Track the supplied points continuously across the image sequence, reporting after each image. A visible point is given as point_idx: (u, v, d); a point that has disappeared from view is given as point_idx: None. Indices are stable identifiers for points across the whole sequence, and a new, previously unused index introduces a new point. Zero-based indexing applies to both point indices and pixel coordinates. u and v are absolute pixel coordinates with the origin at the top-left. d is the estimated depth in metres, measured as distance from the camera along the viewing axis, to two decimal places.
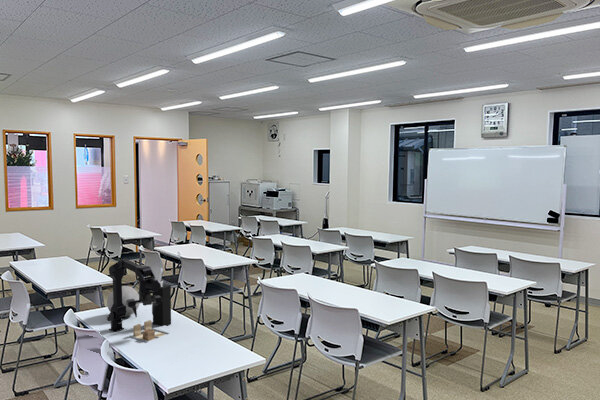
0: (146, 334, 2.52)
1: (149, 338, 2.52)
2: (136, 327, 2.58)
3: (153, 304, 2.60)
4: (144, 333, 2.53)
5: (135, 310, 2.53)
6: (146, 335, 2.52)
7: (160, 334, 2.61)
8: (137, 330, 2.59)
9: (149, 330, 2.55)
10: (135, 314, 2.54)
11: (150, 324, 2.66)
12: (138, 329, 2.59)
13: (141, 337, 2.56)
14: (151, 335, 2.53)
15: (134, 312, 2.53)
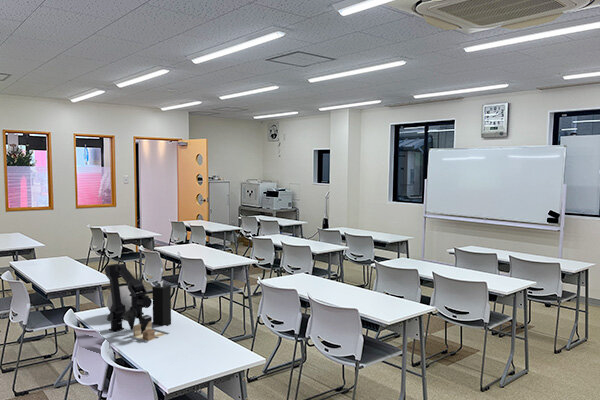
0: (146, 334, 2.52)
1: (149, 338, 2.52)
2: (136, 327, 2.58)
3: None
4: (144, 333, 2.53)
5: (129, 322, 2.61)
6: (146, 335, 2.52)
7: (160, 334, 2.61)
8: (137, 330, 2.59)
9: (149, 330, 2.55)
10: None
11: (150, 324, 2.66)
12: (138, 329, 2.59)
13: (141, 337, 2.56)
14: (151, 335, 2.53)
15: (129, 324, 2.61)
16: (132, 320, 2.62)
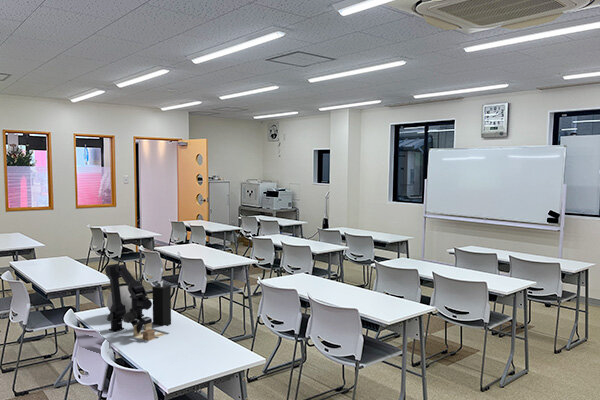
0: (146, 334, 2.52)
1: (149, 338, 2.52)
2: (136, 327, 2.58)
3: None
4: (144, 333, 2.53)
5: (133, 325, 2.59)
6: (146, 335, 2.52)
7: (160, 334, 2.61)
8: None
9: (149, 330, 2.55)
10: None
11: (150, 324, 2.66)
12: None
13: (141, 337, 2.56)
14: (151, 335, 2.53)
15: None
16: None
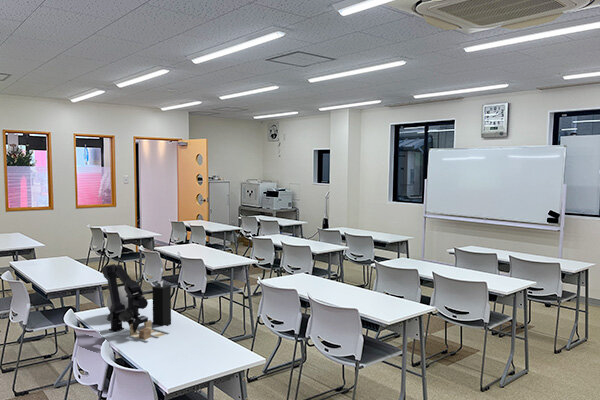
0: (142, 333, 2.53)
1: (145, 337, 2.54)
2: (132, 326, 2.60)
3: None
4: (140, 332, 2.54)
5: (129, 324, 2.61)
6: (142, 334, 2.54)
7: (160, 334, 2.61)
8: None
9: (145, 329, 2.56)
10: None
11: (150, 324, 2.66)
12: None
13: (137, 336, 2.58)
14: (147, 333, 2.55)
15: None
16: (133, 322, 2.62)
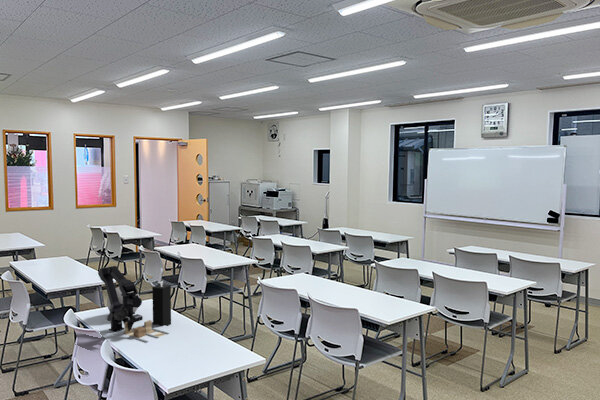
0: (137, 331, 2.56)
1: (140, 335, 2.56)
2: (127, 324, 2.62)
3: None
4: (135, 330, 2.57)
5: None
6: (136, 332, 2.56)
7: (160, 334, 2.61)
8: None
9: (140, 327, 2.59)
10: None
11: (150, 324, 2.66)
12: None
13: (132, 334, 2.60)
14: (142, 332, 2.57)
15: None
16: None
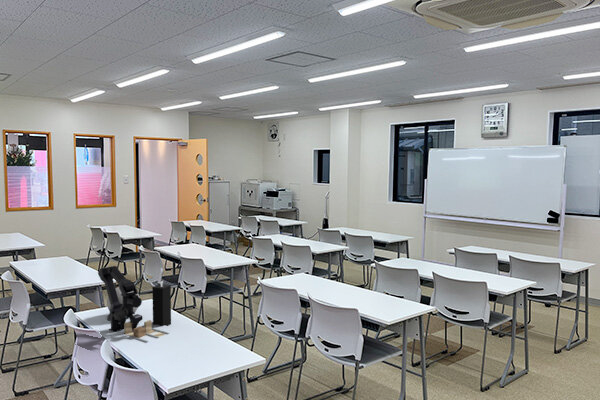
0: (137, 331, 2.56)
1: (140, 335, 2.56)
2: (127, 324, 2.62)
3: None
4: (135, 330, 2.57)
5: (120, 322, 2.65)
6: (136, 332, 2.56)
7: (160, 334, 2.61)
8: (128, 327, 2.63)
9: (140, 327, 2.59)
10: (121, 325, 2.65)
11: (150, 324, 2.66)
12: (129, 327, 2.63)
13: (132, 334, 2.60)
14: (142, 332, 2.57)
15: (120, 323, 2.66)
16: (123, 319, 2.66)
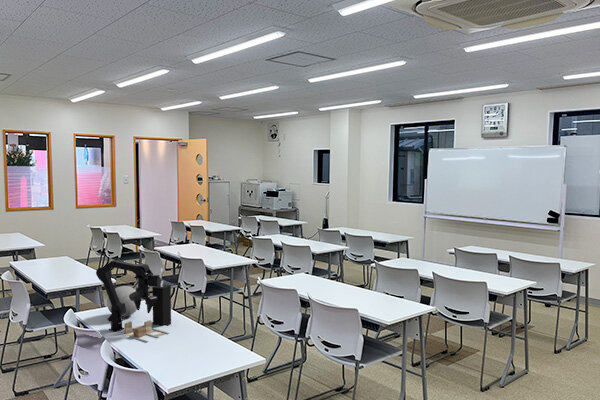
0: (137, 331, 2.56)
1: (140, 335, 2.56)
2: (127, 324, 2.62)
3: None
4: (135, 330, 2.57)
5: (135, 303, 2.70)
6: (136, 332, 2.56)
7: (160, 334, 2.61)
8: (128, 327, 2.63)
9: (140, 327, 2.59)
10: (136, 307, 2.71)
11: (150, 324, 2.66)
12: (129, 327, 2.63)
13: (132, 334, 2.60)
14: (142, 332, 2.57)
15: None
16: (138, 301, 2.72)
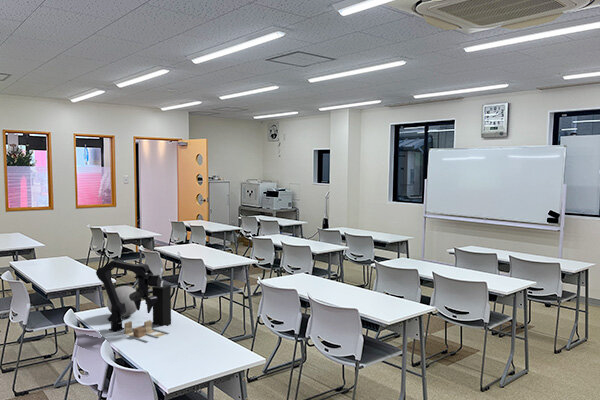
0: (137, 331, 2.56)
1: (140, 335, 2.56)
2: (127, 324, 2.62)
3: None
4: (135, 330, 2.57)
5: (135, 303, 2.70)
6: (136, 332, 2.56)
7: (160, 334, 2.61)
8: (128, 327, 2.63)
9: (140, 327, 2.59)
10: (136, 307, 2.71)
11: (150, 324, 2.66)
12: (129, 327, 2.63)
13: (132, 334, 2.60)
14: (142, 332, 2.57)
15: None
16: (138, 301, 2.72)
